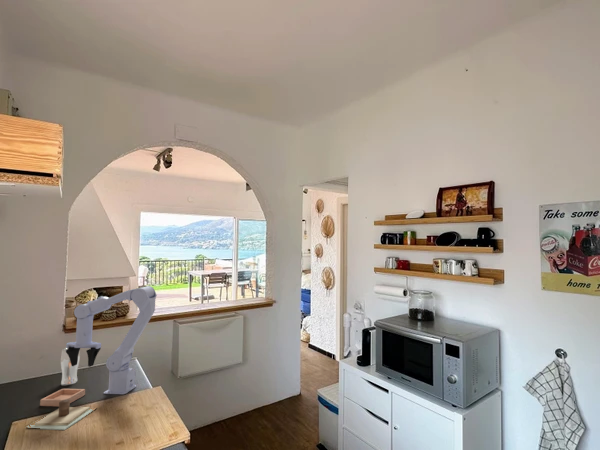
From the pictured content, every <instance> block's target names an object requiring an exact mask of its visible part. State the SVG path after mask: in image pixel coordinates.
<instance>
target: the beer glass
mask: <svg viewBox="0 0 600 450" xmlns="http://www.w3.org/2000/svg"><path fill="white" fill-rule="evenodd" d="M68 349H69V348H66V347H65V348H62V349H61V356H60V368H61V374H62V375H61V382H60V385H61V386H70V385H74V384H76V383H78V380H79V379H78V376H77V375H78V370H79V369H78V368H79V365H80V358H81V353H80V352H81V349H80V350H79V354H78V362H77V365H75V366H72V365H71V361H70V358H69V356H68V354H67V353H66V350H68Z"/></svg>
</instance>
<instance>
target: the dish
mask: <svg viewBox="0 0 600 450" xmlns="http://www.w3.org/2000/svg"><path fill="white" fill-rule="evenodd" d="M85 395H86V389H85V388H61V389H59V390H57V391H55V392H53V393H51V394H49V395H47V396H46V397H43V398H41V399H40V401H39V406H41V407H59V402H60V401H62V400H66V399H69V400H70V404H72V403H73V402H75V401H76V400H78V399H80V398H83V397H84V396H85Z"/></svg>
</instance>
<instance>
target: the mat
mask: <svg viewBox="0 0 600 450" xmlns="http://www.w3.org/2000/svg"><path fill="white" fill-rule="evenodd" d="M92 411H93V410H92V409H90V410H88V411H86V412H85V413H84V414H82V415H81V416H80V417H78V418H77V419H76V420H74V421H73V422H71V423H70V424H69V425H42V426H35V425H31V424H29V425H30V426H31V428H40V429H39V430H49V431H50V430H51V431H52V430H53V431H65V430H68V428H70V427H72V426H73V425H75V424H76V423H78V422H79V421H81V420H83V419H84V418H86V417H87V416H88V414H89V413H90V414H92V413H93V412H94V411H93V412H92ZM91 412H92V413H91ZM51 413H52V412H50V413H49V414H51ZM49 414H47V415H49ZM90 414H89V415H90ZM86 415H87V416H86ZM85 416H86V417H85ZM83 417H84V418H83ZM82 418H83V419H82ZM29 425H27V426H26V427H28V428H30V427H29Z"/></svg>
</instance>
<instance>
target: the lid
mask: <svg viewBox="0 0 600 450" xmlns="http://www.w3.org/2000/svg"><path fill="white" fill-rule="evenodd" d="M70 404H71V403H70V400H69V399H66V400H62V401H60V402H59V406H58V408H57V409H55V410H54V411H51V412H50V413H51V414H50V413H49V415H48V414H46V415H45V416H46V417H45V416H43V417H44V418H43V417H42V418H43V419H41V418H40V419H41V420H40V421H38V420H37V421H38V422H36V421H35V422H36V423H35V426H42V425H69V424H70V423H71V422H73V421H74V420H76V419H77V418H78V417H80V416H81V415H82V414H84V413H85V412H86V411H88V410H89V409H90V408H91V406H70Z"/></svg>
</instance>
